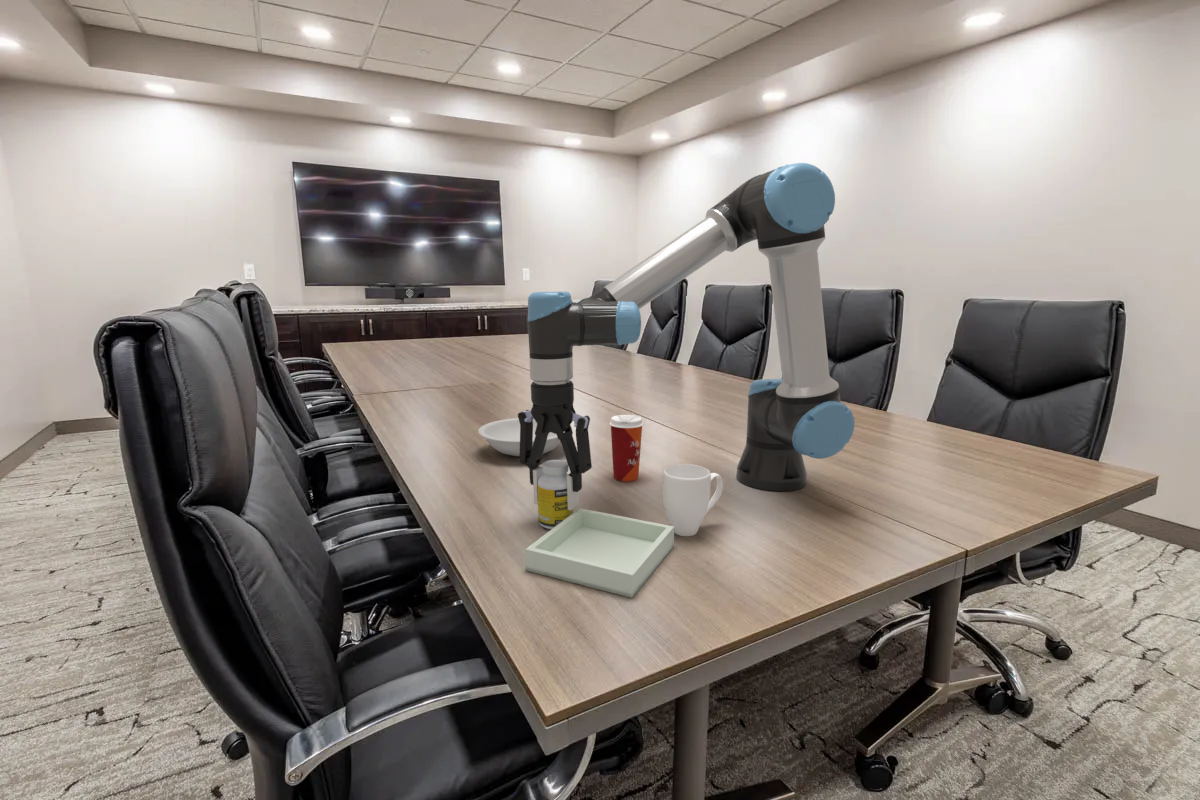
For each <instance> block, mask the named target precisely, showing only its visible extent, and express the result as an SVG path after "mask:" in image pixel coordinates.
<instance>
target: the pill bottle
mask: <svg viewBox="0 0 1200 800" xmlns="http://www.w3.org/2000/svg"><path fill="white" fill-rule="evenodd" d="M542 466H543V472H544V475H542V476H541V477H540V478H539V480H538V504H537V511H538V513H537V517H538V519H537V520H538V521H537V522H538V524H539V526H541V527H542V528H544V529H547V530H551V529H553V528H554V527H555V526H557V525H558V524H559V523H561V522H562V521H563V520H565V519H566V518H567V517H569V516H570V515H571V514H573V513H574V509H573V510H568V502H567V475H568V474H569V473H568V472H569V466H568V463H567V460H562V459H548V460H546V461H544V462H542Z"/></svg>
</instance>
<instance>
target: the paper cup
mask: <svg viewBox="0 0 1200 800" xmlns="http://www.w3.org/2000/svg"><path fill="white" fill-rule="evenodd" d="M610 419H611V420H610V422H609V423H608V424H609V425H610V433H611V434H610V435H611V436H610V437H611V451H612V453H611V456H612V471H613V478H614V479H615V480H616V481H619V482H625V483H628V482H635V481H637V480H639V479H638V478H639V471H640V459H641V448H642V434H643V426H644V425H645V424H644V422H643V418H642V417H641V416H639V415H633V414H619V415H614V416H612V417H611V418H610Z"/></svg>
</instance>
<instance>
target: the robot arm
mask: <svg viewBox="0 0 1200 800" xmlns="http://www.w3.org/2000/svg"><path fill="white" fill-rule="evenodd" d="M835 194H836V193H835V189H834V186H833V183H832V181H831V180H830V177H829V176H828V175H827V174H826V173H825V172H824V171H822V170H821V168H818V167H817V166H815V165H813V164H811V163H806V162H797V163H791V164H785V165H782V166H779V167H777V168H775V169H772V170H769V171H767V172H765V173H762V174H758V175H755V176H753V177H752V178H750V179H748V180H746V181H745V182H744V183H742V184H741V185H739V186H738V187H737V188H736V189H734V190H733V191H732V192H731V193H730V194H728V195H727V196H725V197H724V198H723V199H721V200H720V201H719V202H718V203H716V204H715V205H714V206H712V207H711V208H709V209H708V210H707V211H706V213H705V218H704V219H702V220H700V221H699V222H698V223H696V224H694V225H693V226H692V227H691V228H689V229H688V230H686V231H685V232H683V233H682V234H680V235H679V236H677V237H675V239H672V240H671V241H669V242H668V243H667V244H665V245H664V246H662V247H661V248H659V249H658V250H656V251H655V252H654V253H652V254H650V255H649V256H648V257H646V258H645V259H644V260H642V261H640V262H638V263H637V264H636V265H634V266H633V267H631V268H630V269H628V270H627V271H625V272H624V273H623V274H621V275H620V276H618V277H617V278H615V279H613V281H611V282H610V283H608V284H606V285H605V286H603V288H601V289H599V290H598V291H596V292H595V293H593V294H592V295H590V296H588V297H586V298H585V297H584V298H582V299H581V300H579V301H577V302H576V301H575V302H574V301H573V299H572V295H571V293H570V291H534V292H532V293H530V294H529V296H528V297H527V329H528V330H527V332H528V347H529V348H528V351H529V378H530V380H532V382H531V384H530V397H531V403H532V407H531V409H526V410H523V411H520V412H518V413H517V418H519V422H520V456H518V457H519V459H518V461H519V464H520V465H522V466H523V465H525V466H526V467H527V468H528V469H529V472H528V473H529V483H530V485H531V486H533V502H534V504H535V505H538V480H539V478H540V477H541V476H542V475H544V472H543V462H542V458H543V455H544V454H543V451H544V448H545V444H546V440H547V437H548V434H549V433H550V432H552V433H554V434H557V437H558V439H559V440H560V442H561V443H560V445H561V447H562V451H563V454H564V457H565V461H566V462H567V463H568V470H569V473H567V474H568V475H567V502H568V510H573V511H574V509H576V508H577V507H578V506H579V491H581V490H582V487H583V478H582V477H583V474H585V473H586V472H588V471H590V470H591V469H592V467H593V465H592V464H593V463H592V456H591V445H590V437H589V436H590V435H589V425H590V421H591V418H590V416H589V415H584V416H583V415H580V414H577V413H576V412H577V411H576V410H575V409H574V400H575V395H574V393H575V391H574V388H575V387H574V383H573V380H572V379H573V378H574V365H573V364H574V361H573V360H574V359H573V354H574V353H573V348H574V347H581V346H582V347H583V346H604V345H605V346H613V345H615V346H616V345H617V346H621V345H628V344H634V343H636V342H638V340H639V338H640V335H641V330H642V319H641V318H642V315H641V311H640V309H642V308H643V307H644V306H646V305H648V304H649V303H651V302H652V301H654V300H655V299H656V298H658V297H659V296H661V295H662V294H664V293H665V292H667V291H668V290H670V289H671V288H673V287H674V286H676V285H677V284H679V283H680V282H682V281H683V280H684V279H686V278H688V277H689V276H690V275H692V274H693V273H695V272H696V271H697V270H699V269H700V268H702V267H703V266H705V265H706V264H708V263H709V262H711V261H712V260H714V259H715V258H716V257H718V256H719V255H721V254H722V253H724V252H725V251H726V252H730V253H733V252H734V251H736V250H738V249H739V248H741V247H743V246H744V245H746V244H748V243H751V242H754V241H756V240H757V241H756V242H757V247H758V252H760V253H761V254H762V255H763V256H765V257H767V259H768V268H769V274H770V275H769V278H770V284H771V285H770V287H771V293H772V302H773V303H772V304H773V310H774V311H773V312H774V319H775V320H774V321H775V327H776V336H777V342H778V343H777V344H778V345H777V346H778V351H779V361H780V368H781V369H780V370H781V378H765V379H764V378H762V379H755V380H753V381H752V382H750V384H749V391H748V394H747V398H748V401H747V421H746V422H747V424H746V439H745V440H746V442H745V443H746V444H745V447H744V449H743V452H742V455H741V457H740V459H739V461H738V464H737V467H736V479H737V480H738V482H740V483H742V484H744V485H746V486H747V487H751V488H754V489H759V490H764V491H772V492H773V491H774V492H789V491H797V490H800V489H802V488H804V487H805V486H806V484H807V478H808V477H807V476H808V473H807V469H806V465H805V463H804V458H803V456H807V457H809V458H813V459H819V460H822V459H829V458H830V457H833V456H835V455H836V454H838V453H839V452H841V451H842V450H843V449H844V448H845V446H846V444H848V443H849V442H850V440H851V439H852V436H853V434H854V432H855V416H854V414H853V412H852V411H851V409H850V408H849V407H848V406H847V405H846V404H845V403H843V402H841V395H840V394H841V393H840V385H839V382H838V381H836V380H835V379H834V378H832V377H831V376H830V369H829V367H830V366H829V358H828V348H827V347H828V346H827V338H826V326H825V318H824V307H823V306H824V305H823V295H822V285H821V275H820V274H821V272H820V264H819V253H818V250H819V247H821V245H822V243H823V242H824V241H825V240H826V228H825V225H826V224H827V223H828V222H829V220H830V217H831V215H832V214H833V212H834V210H835V205H836V195H835ZM533 419H535V421H536V423H537V427H536V431H535V435H536V436H535V440H534V443H533V447H532V441H533ZM572 423H573V424H574V425H573V427H575V439H576V443H575V440H574V436H573V434H574V432H573V428H571V427H572V425H571V424H572ZM564 431H565V432H564Z"/></svg>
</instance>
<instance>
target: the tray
mask: <svg viewBox="0 0 1200 800" xmlns="http://www.w3.org/2000/svg"><path fill="white" fill-rule="evenodd" d="M674 539H675V533H674V526H671V525H670V524H668V525H667V524H663V523H658V522H652V521H648V520H641V519H637V518H633V517H632V518H631V517H627V516H621V515H617V514H612V513H608V512H601V511H596V510H591V509H586V508H583V507H582V508H581V507H579V508H578V509H577V510H576V511H573V514H571V515H570V516H569V517H567V518H566V519H565V520H563V521H562V522H561V523H559V524H558V525H557V526H555V527H554V528H553V529H549V530H548V531H547V532H546V533H545V534H543V535H542V536H541V537H540V538H538V539H537V540H536V541H534V542H533V543H532V544H530V545H529V546H528V547H526V548H525V550H524V551H525V572H526V571H527V572H531V573H533V574H534V573H535V574H538V575H542V576H545V577H549V578H550V577H551V578H554V579H558V580H561V581H564V582H569V583H573V584H577V585H580V586H584V587H588V588H592V589H595V590H599V591H604V592H607V593H611V594H615V595H619V596H622V597H626V598H630V599H633V598H634V597H635V596H636V594H637V593H638V592H639V591H640V589H642V587H643V585H645V582H647V580H648V579H649V578H650V577H651V575H652V574H653V573H654V572H655V570H656V569H657V568H658V566H659V565H660V564H661V563H662V561H663V560H664V559H665V558H666V557H667V555H668V554H669V552H671V550H672V549H673V548H674V546H675V545H674V544H675V543H674V542H675V541H674Z"/></svg>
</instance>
